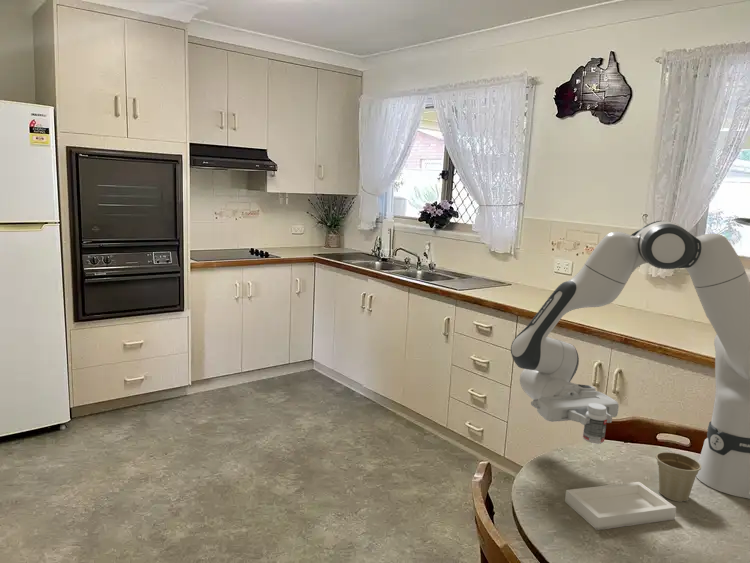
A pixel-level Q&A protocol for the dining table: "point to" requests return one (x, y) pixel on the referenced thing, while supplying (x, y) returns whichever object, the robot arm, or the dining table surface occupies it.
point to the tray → (619, 505)
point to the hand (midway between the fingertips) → (598, 420)
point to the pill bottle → (595, 423)
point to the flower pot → (676, 475)
